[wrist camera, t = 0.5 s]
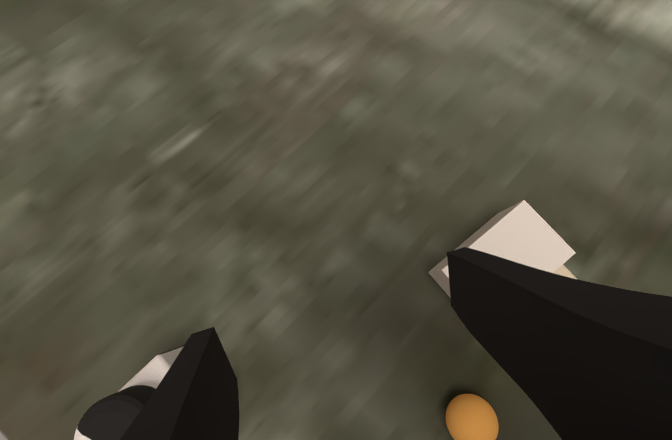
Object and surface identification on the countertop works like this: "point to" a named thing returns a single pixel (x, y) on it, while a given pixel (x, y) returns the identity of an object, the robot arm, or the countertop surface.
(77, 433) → the medicine bottle
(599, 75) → the countertop surface
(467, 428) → the ball
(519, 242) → the white rectangular prism
